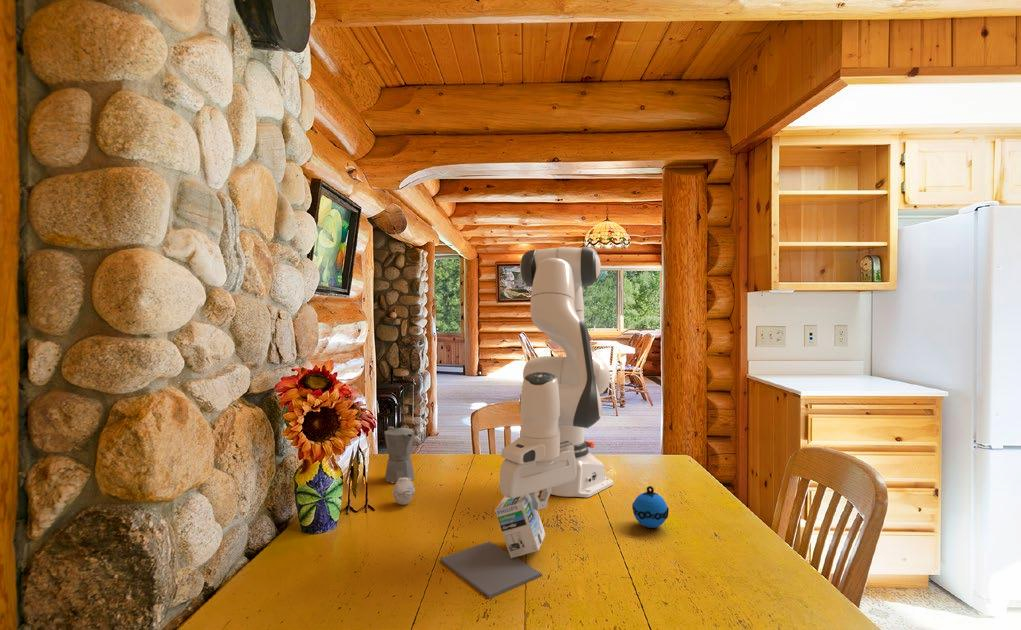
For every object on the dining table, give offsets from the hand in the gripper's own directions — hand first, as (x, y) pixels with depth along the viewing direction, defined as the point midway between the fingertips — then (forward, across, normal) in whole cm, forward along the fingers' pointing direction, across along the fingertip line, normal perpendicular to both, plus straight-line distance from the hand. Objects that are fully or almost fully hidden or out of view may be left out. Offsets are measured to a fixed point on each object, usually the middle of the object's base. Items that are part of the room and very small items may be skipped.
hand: (540, 508), depth 118 cm
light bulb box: (+8, +3, 0) cm, 9 cm away
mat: (+9, +14, 0) cm, 17 cm away
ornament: (+10, -29, +8) cm, 32 cm away
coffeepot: (+9, +3, -63) cm, 64 cm away
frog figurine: (+10, +12, -43) cm, 46 cm away
